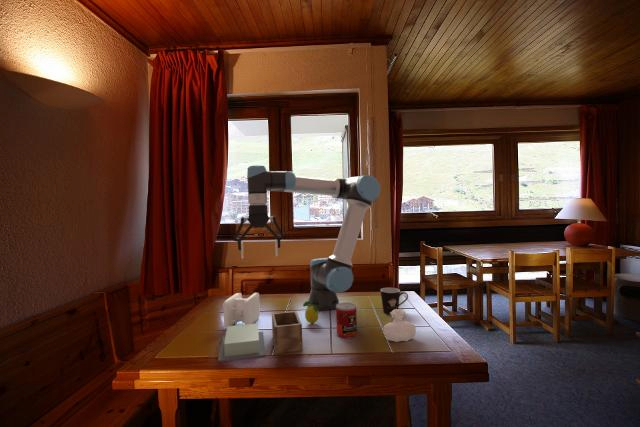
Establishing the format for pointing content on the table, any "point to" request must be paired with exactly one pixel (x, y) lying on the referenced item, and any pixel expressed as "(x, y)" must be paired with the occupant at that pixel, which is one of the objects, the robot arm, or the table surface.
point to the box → (287, 332)
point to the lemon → (311, 312)
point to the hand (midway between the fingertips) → (259, 257)
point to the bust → (399, 328)
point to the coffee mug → (391, 299)
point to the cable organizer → (241, 309)
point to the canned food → (346, 320)
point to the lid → (241, 340)
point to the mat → (244, 356)
